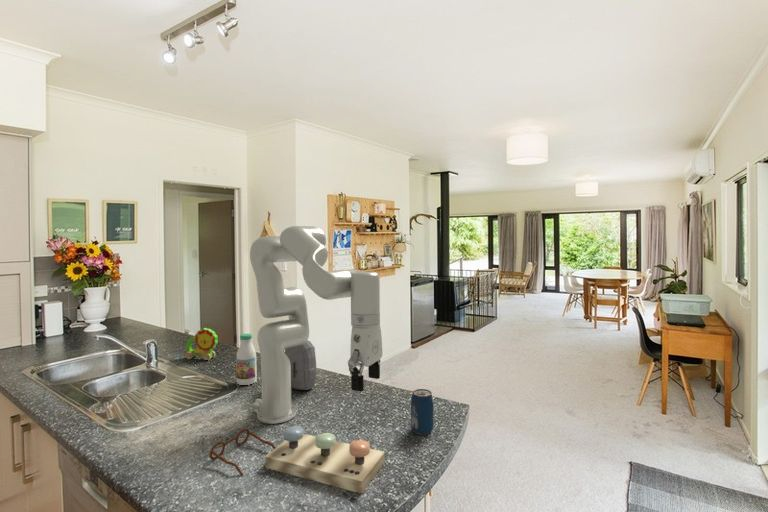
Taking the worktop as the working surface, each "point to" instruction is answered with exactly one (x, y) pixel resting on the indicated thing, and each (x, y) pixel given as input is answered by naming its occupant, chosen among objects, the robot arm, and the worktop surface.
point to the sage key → (325, 440)
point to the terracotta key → (359, 448)
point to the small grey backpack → (302, 366)
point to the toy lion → (202, 344)
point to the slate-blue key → (293, 433)
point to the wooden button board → (326, 463)
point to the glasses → (236, 444)
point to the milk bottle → (246, 361)
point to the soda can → (422, 411)
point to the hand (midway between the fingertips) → (366, 384)
